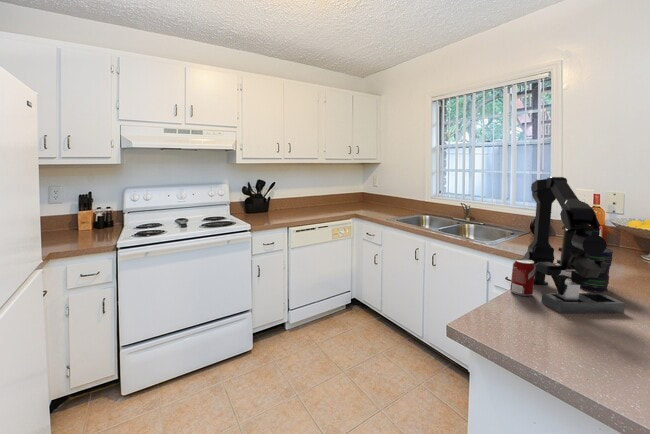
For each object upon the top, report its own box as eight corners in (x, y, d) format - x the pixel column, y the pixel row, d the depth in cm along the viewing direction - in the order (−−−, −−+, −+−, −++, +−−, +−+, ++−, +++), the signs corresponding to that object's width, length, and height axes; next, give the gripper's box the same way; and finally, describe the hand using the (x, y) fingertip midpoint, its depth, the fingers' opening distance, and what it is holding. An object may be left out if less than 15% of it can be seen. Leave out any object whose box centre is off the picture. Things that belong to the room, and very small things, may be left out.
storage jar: (615, 292, 113) (621, 252, 111) (587, 292, 113) (593, 251, 111) (592, 282, 123) (597, 245, 121) (566, 282, 123) (571, 245, 121)
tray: (541, 302, 104) (542, 293, 104) (600, 302, 104) (602, 293, 104) (559, 313, 96) (561, 303, 96) (623, 313, 97) (625, 303, 96)
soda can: (521, 298, 107) (525, 264, 106) (505, 290, 114) (508, 258, 112) (537, 296, 109) (541, 262, 107) (520, 289, 116) (523, 257, 114)
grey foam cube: (565, 300, 98) (567, 284, 97) (556, 295, 102) (557, 280, 101) (578, 300, 98) (580, 285, 97) (568, 295, 102) (570, 280, 101)
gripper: (564, 253, 89) (557, 305, 92) (628, 253, 89) (620, 305, 92) (537, 244, 100) (531, 290, 103) (594, 244, 100) (588, 291, 103)
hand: (567, 294), depth 100 cm, fingers closed on grey foam cube, 4 cm apart
